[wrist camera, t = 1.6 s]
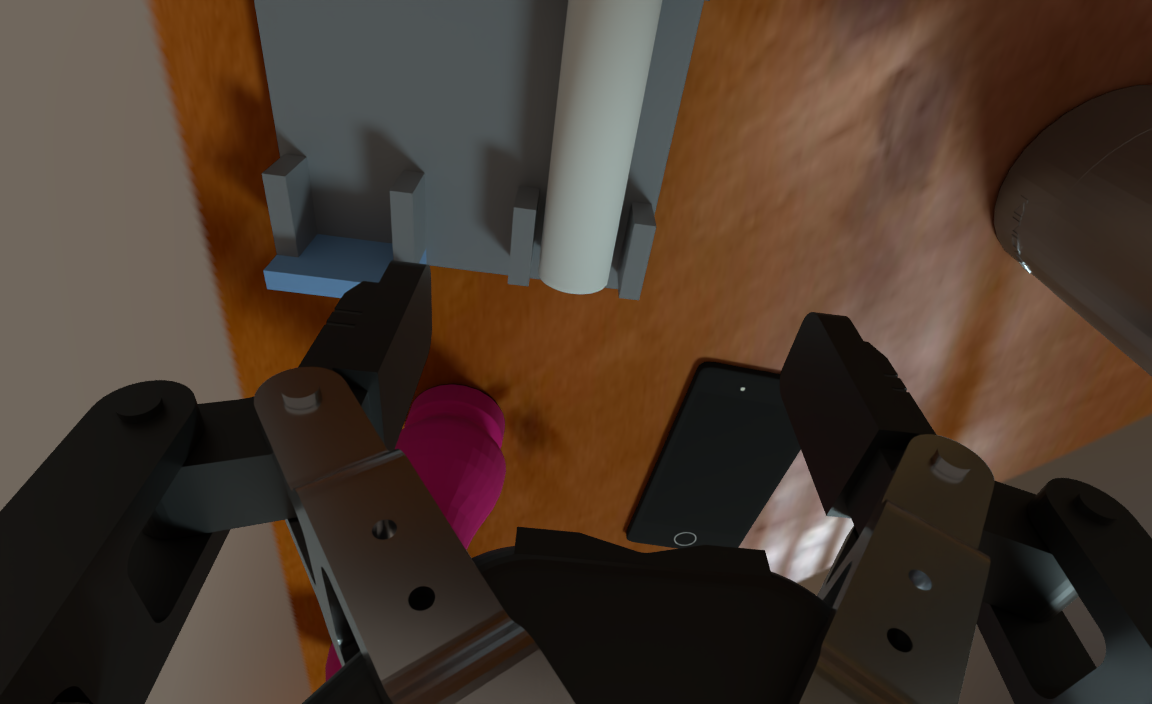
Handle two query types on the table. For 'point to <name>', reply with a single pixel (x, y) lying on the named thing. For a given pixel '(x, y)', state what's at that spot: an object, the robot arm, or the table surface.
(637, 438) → the table surface
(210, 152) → the table surface
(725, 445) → the cell phone
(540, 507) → the table surface
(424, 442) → the pepper mill
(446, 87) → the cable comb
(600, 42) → the white rounded capsule
